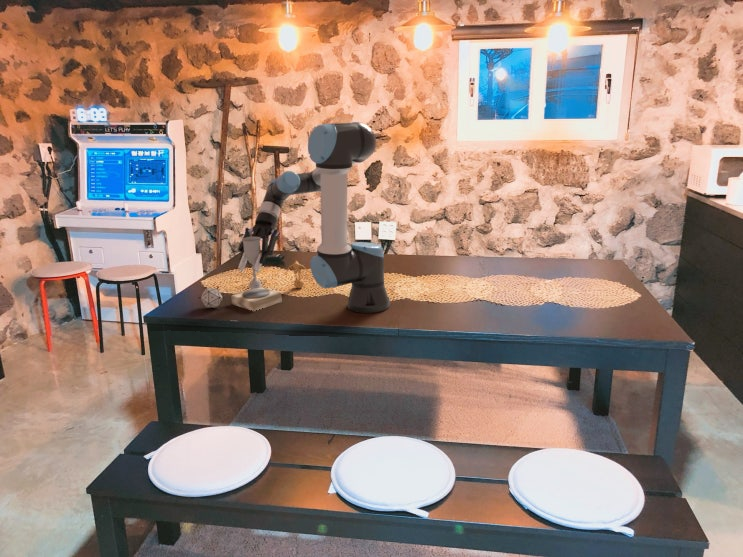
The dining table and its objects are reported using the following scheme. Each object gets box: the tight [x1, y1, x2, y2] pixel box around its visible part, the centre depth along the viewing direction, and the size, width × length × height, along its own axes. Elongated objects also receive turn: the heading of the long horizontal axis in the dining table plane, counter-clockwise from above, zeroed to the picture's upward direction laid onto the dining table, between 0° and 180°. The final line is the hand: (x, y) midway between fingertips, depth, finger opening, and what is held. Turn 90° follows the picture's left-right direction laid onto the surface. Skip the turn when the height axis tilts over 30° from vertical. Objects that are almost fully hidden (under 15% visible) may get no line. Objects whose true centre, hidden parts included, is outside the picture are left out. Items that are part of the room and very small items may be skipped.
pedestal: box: [231, 286, 283, 312], centre depth 221 cm, size 13×13×4 cm
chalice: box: [241, 237, 263, 289], centre depth 217 cm, size 7×7×18 cm
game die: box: [197, 286, 226, 310], centre depth 216 cm, size 9×8×10 cm
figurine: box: [286, 260, 309, 289], centre depth 235 cm, size 8×6×12 cm
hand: (248, 270), depth 214 cm, fingers closed on chalice, 6 cm apart
